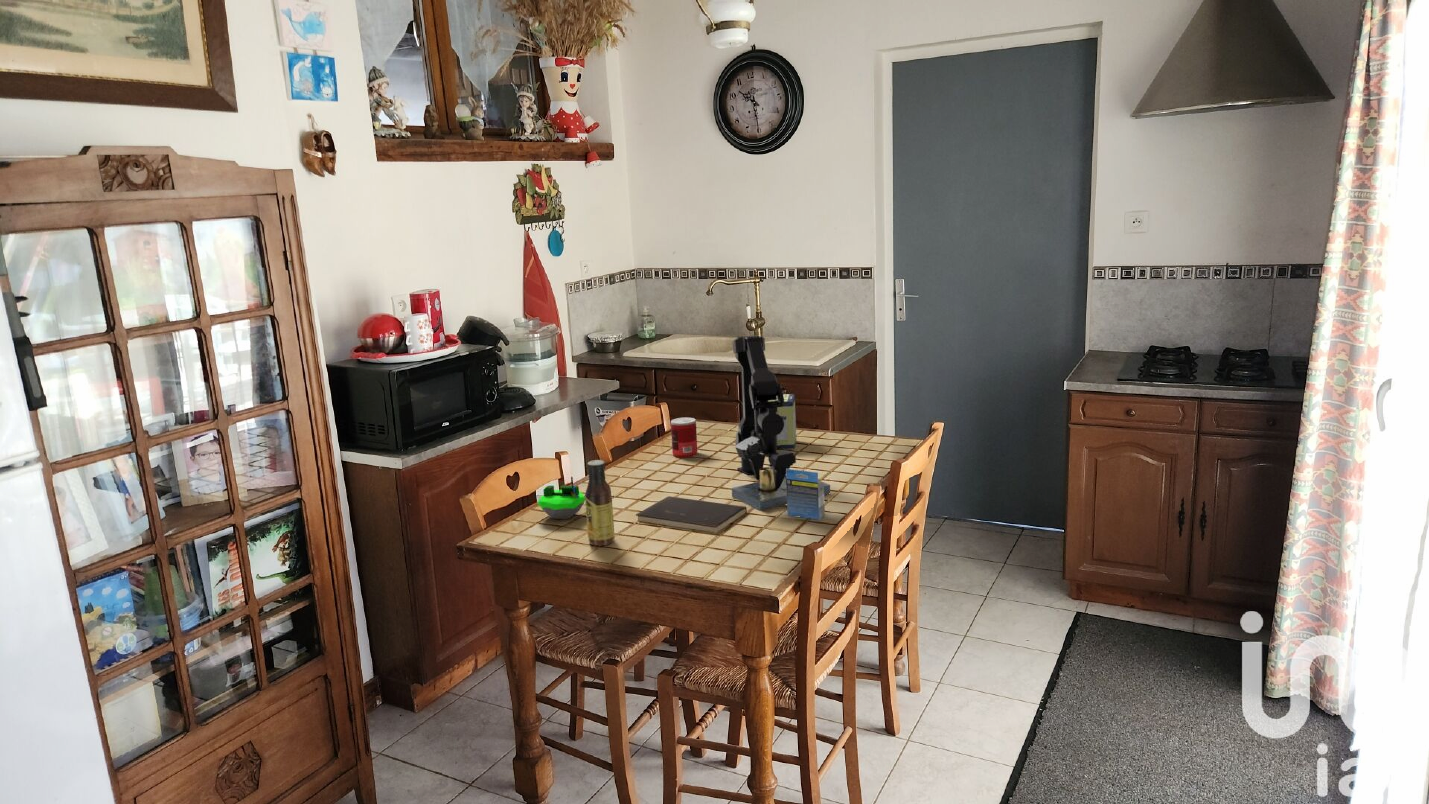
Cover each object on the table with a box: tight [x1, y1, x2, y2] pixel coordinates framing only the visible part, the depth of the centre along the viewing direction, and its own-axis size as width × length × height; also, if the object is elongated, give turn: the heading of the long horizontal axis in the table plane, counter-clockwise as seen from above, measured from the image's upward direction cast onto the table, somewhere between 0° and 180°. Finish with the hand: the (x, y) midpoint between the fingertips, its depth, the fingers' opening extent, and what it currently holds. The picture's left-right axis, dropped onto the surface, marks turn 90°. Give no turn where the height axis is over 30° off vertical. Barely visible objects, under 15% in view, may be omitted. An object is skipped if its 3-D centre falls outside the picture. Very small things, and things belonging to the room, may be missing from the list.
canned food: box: [670, 416, 698, 459], centre depth 293 cm, size 8×8×11 cm
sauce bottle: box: [584, 459, 615, 547], centre depth 221 cm, size 7×6×20 cm
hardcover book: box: [635, 495, 747, 533], centre depth 238 cm, size 16×23×2 cm
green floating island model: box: [537, 476, 585, 520], centre depth 241 cm, size 12×12×11 cm
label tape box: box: [786, 468, 826, 521], centre depth 233 cm, size 9×4×12 cm, turn 60°
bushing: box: [759, 466, 775, 493], centre depth 248 cm, size 4×4×8 cm
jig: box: [731, 474, 831, 511], centre depth 251 cm, size 14×22×3 cm, turn 120°
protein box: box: [771, 393, 797, 450], centre depth 299 cm, size 10×16×16 cm
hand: (767, 483), depth 248 cm, fingers open, 9 cm apart
